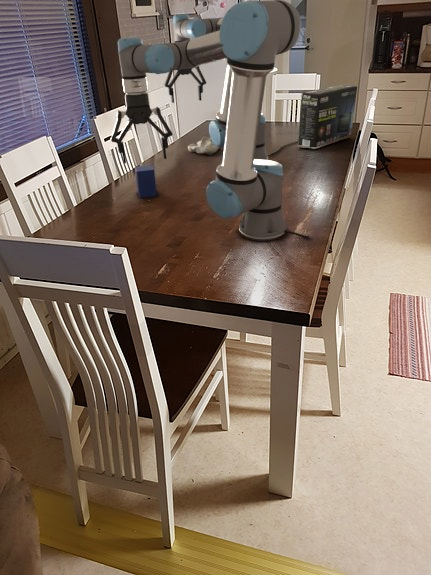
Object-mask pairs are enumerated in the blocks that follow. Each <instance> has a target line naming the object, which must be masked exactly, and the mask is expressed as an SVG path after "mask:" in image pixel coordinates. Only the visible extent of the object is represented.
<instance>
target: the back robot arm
mask: <svg viewBox="0 0 431 575" xmlns="http://www.w3.org/2000/svg"><path fill="white" fill-rule="evenodd" d="M223 18H224V17H212V18H190V15H189V14H188V13H185V14H184V13H183V14H174V15H173V16H172V26H173V37H174V43H177V42H183V41H186V40H190V39H193V38H196V37H200V36H203V35H206V34H209V33H213V32H216V31H219V30H220V26H221V23H222V20H223ZM193 69H195V70H196V72H197V74H198V76H199V78H200V79H199V78H198V76H197V75H196V74H195V73H194V72H193V71H192V70H193ZM173 72H174V71H169V72H168V73H167V76H166V79H165V81H164V84H163V85H164V87H165V88H168V95H169V96H170V98H171V103H173V104H175V93H174V87H173V86H174V84H175V83H176V81H177V80H178V78H179V77H180V75H181V76H185V75H191V77H192V78H193V79H194V80H195V82H196V83H197V84H198V85H197V95H198V101H202V94H203V92H204V86H205V85H206V84H207V80H206V78H205V76H204V74H203V72H202V71H201V68H200V66H198V67H195V68H191V69H180V70H176V72H175V74H174V76H173ZM172 76H173V77H172ZM171 78H172V79H171ZM231 78H232V70H231V69H230V67H229V66H228V65H227V64H226V68H225V74H224V80H223V81H224V84H223V89H222V97H221V102H220V110H217V112H216V114H215V119H213V120H211V121H210V122H209V124H208V133H209V137H211V139H212V141H213V143H214V144H215V145H216V146H217V147H221V148H224V145H225V136H226V126H227V116H228V107H229V97H230V88H231ZM266 124H267V123H266V115H265V114H264V113H263V112H261V117H260V124H259V131H258V137H257V144H256V151H255V158H254V160H255V159H259V160H269V157H270V156H273V155H275V154H277V153H279V152H280V150H281V149H279V150H278V149H277V150H278V151H277V150H275V151H276V152H275V151H273V152H274V153H273V152H271V153H272V154H271V153H269V154H270V155H268V156H267V154H268V153H267V150H266Z"/></svg>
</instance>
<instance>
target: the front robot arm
mask: <svg viewBox="0 0 431 575" xmlns="http://www.w3.org/2000/svg"><path fill="white" fill-rule="evenodd" d="M222 18H223V20H222V23H221V26H220V30H219V31H216V32H213V33H209V34H206V35H203V36H200V37H196V38H193V39H190V40H186V41H183V42H177V43H175V42H167V43H156V44H144V43H143V39H142V38H141V37H140V36H139V37H138V36H136V37H121V38H119V39H118V40H117V55H118V59H119V65H120V72H121V73H120V74H121V77H122V79H121V80H122V87H123V92H124V93H125V95H124V100H125V110H119V109H118V110H117V111H116V117H117V118H116V121H115V123H114V127H113V130H112V133H111V136H110V140H111V142H112V143H116V145H117V151H118V153H119V154H122V160H123V164H127V159H126V152H125V145H124V141H123V140H124V138H125V137H126V135H127V133H128V132H129V130H130V129H131V127H132V126H133V125H140V124H141V125H144V124H147V123H148V124H149V125H150V126H151V127H153V129H154V130H156V131H157V132H158V133H159V135H161V136H162V137H160V141H161V150H162V158H163V159H164V160H166V159H167V151H166V149H168V148H169V140H168V138H170V137H172V136H173V135H174V134H173V132H172V130H171V128H170V127H169V125H168V123H167V122H166V120H165V119H164V116H163V115H162V112H161V108H160V107H159V106H156V107H153V108H151V105H150V103H151V102H150V94H149V93H148V91H149V88H148V80H147V79H148V78H147V74H155V75H162V74H168V73H169V71H173V72H174V71H177V70H180V69H191V68H193V69H195V67H198V66H199V67H200V66H202V65H207V64H211V63H216V62H220V61H224V60H226V66H227V65H228V66H229V67H230V69H231V70H232V78H231V88H230V97H229V107H228V116H227V126H226V136H225V145H224V147H223V155H222V162H221V163H220V164H218V165H217V166H216V171H215V179H214V180H212V181H210V183H208V184H207V186H206V190H205V196H206V201H207V203H208V206H209V207H210V208H211V210H212V211H213V213H214V214H215V215H217V217H219V218H221V219H225V220H230V219H233V218H238V217H240V216H241V215H242V216H241V219H240V220H239V223H238V225H239V226H238V232H239V235H240V236H241V237H242V238H244V239H247V240H250V241H254V242H271V241H277V240H279V239H281V238H283V237H285V235H286V234H290V235H294V236H297V237H300V238H303V239H309V238H310V236H309V235H306V234H301V233H299V232H295V231H292V230H289V229H287V223H286V221H285V216H284V214H283V210H282V200H283V182H284V180H283V179H284V169H283V165H282V164H281V163H280V162H278V161H274V160H270V159H268V160H259V159H255V160H254V158H255V151H256V144H257V137H258V131H259V124H260V117H261V113H262V111H263V110H262V109H263V104H264V96H265V89H266V84H267V76H268V74H270V73H271V72H272V71H274V69H275V64H276V58H277V55H282V54H284V53H287V52H288V51H290V50H292V48H294V46H296V44H297V42H298V40H299V38H300V36H301V34H302V19H301V16H300V13H299V11H298V10H297V8H296V7H295V6H294V5H293V4H292V3H291V2H288V1H286V0H245V1H240V2H237V3H235V4H234V5H232V6H231V7H230V8H229V9H228V10H227V11H226V12H225V14H224V16H223V17H222ZM152 114H154V115H155V116H157V118H158V120H159V121H160V122H161V125H162V126H163V128H164V129H165V131H166V132H165V131H163V130H162V128H161V127H160V126H159V125H158V124H156V122H155V121H153V119H152V118H151V116H152ZM125 116H126V117H127V118H128V120H127V122H126V124H125V126H124V127H123V128H122V130H121V132H120V134H119V135H118V133H119V129H120V126H121V124H122V120H123V119H124V117H125ZM117 136H118V137H117Z"/></svg>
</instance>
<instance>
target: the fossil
mask: <svg viewBox="0 0 431 575" xmlns="http://www.w3.org/2000/svg"><path fill="white" fill-rule="evenodd" d="M220 148H222V147H217V146H216V145H215V144H214V143H213V141H212V139H211V137H210V136H206V135H205V136H202V138H201V139H200V140H199V141H197V142H196V143H194V142H193V143H191V144H189V145H188V146H187V149H188V151H189V152H191V153H197V154H206V155H208V156H212V155H213V154H215V153H217V151H218V150H219V149H220Z"/></svg>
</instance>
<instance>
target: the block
mask: <svg viewBox="0 0 431 575" xmlns="http://www.w3.org/2000/svg"><path fill="white" fill-rule="evenodd" d="M134 172H135V180H136V188H137V194H138V197H139V198H140V199H144V198H151V197H157V196H158V193H157V192H158V191H157V183H156V176H155V169H154V167H153V165H152V164H147V165H139V166H134Z"/></svg>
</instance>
